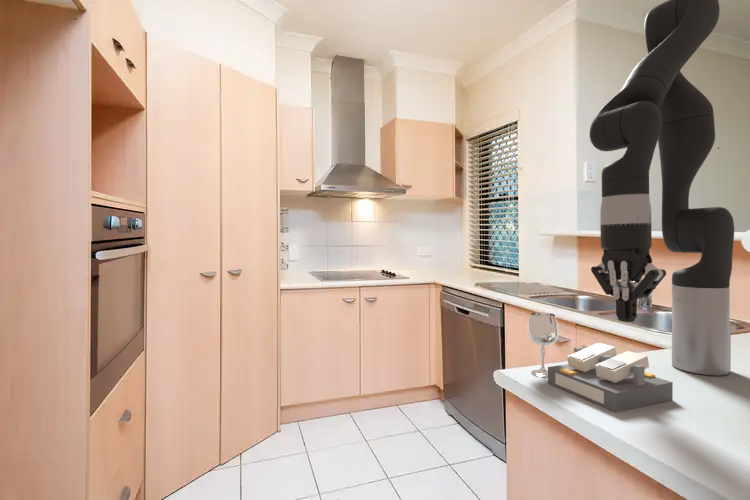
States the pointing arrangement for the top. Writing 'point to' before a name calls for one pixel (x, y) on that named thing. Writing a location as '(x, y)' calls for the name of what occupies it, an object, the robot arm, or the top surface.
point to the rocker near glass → (590, 356)
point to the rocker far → (620, 366)
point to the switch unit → (612, 386)
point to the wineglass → (542, 335)
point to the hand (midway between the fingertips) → (626, 321)
